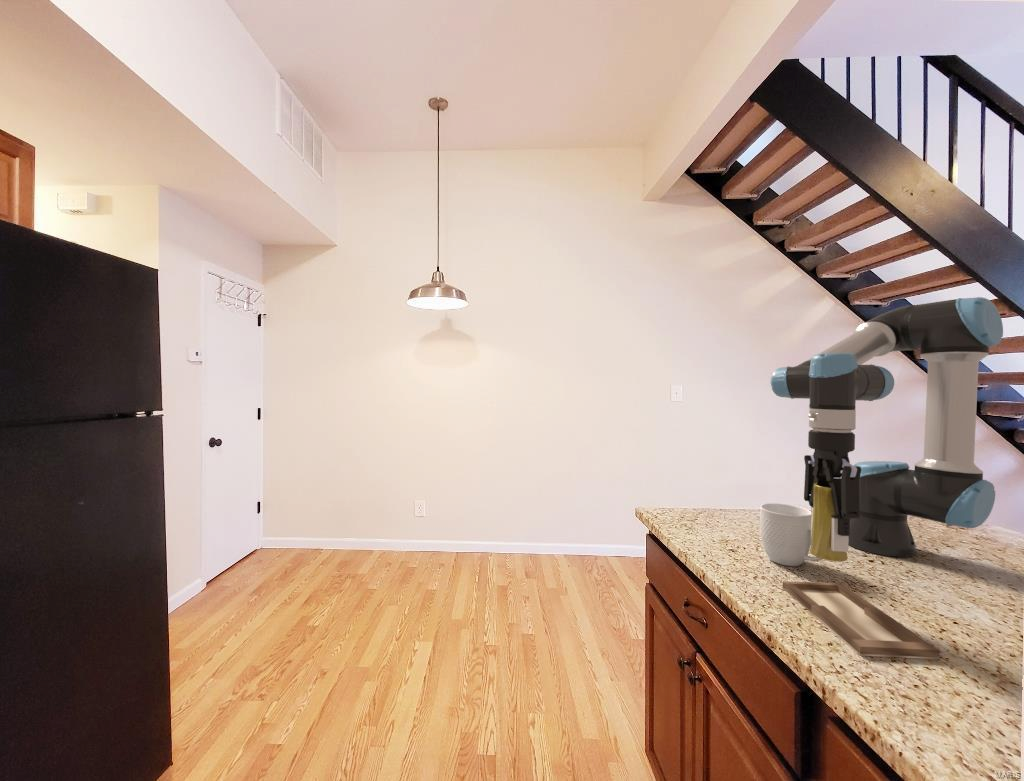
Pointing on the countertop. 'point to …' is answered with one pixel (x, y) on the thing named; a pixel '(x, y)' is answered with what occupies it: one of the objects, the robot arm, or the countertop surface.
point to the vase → (823, 525)
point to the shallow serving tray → (859, 621)
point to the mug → (786, 533)
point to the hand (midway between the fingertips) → (828, 544)
